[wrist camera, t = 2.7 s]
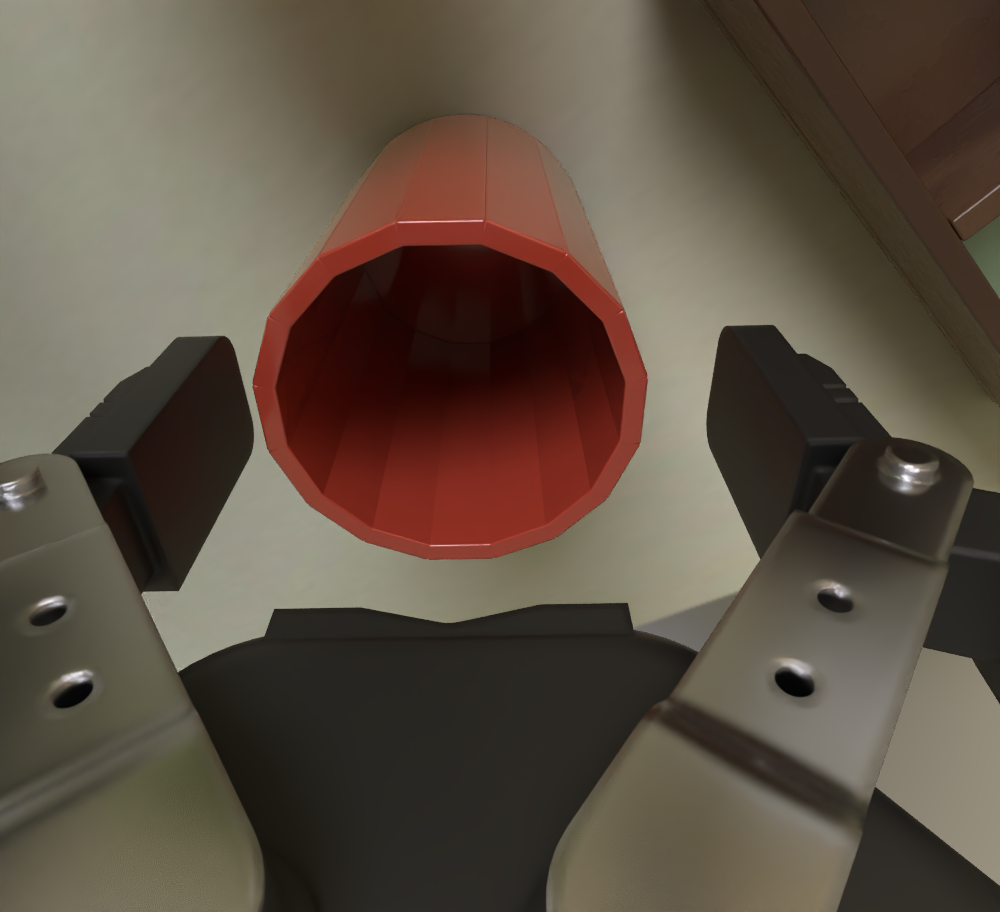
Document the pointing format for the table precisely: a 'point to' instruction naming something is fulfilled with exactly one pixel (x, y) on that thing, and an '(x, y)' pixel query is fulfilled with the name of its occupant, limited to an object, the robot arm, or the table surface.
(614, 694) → the robot arm
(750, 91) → the table surface
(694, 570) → the table surface
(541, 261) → the cup
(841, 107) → the caddy
